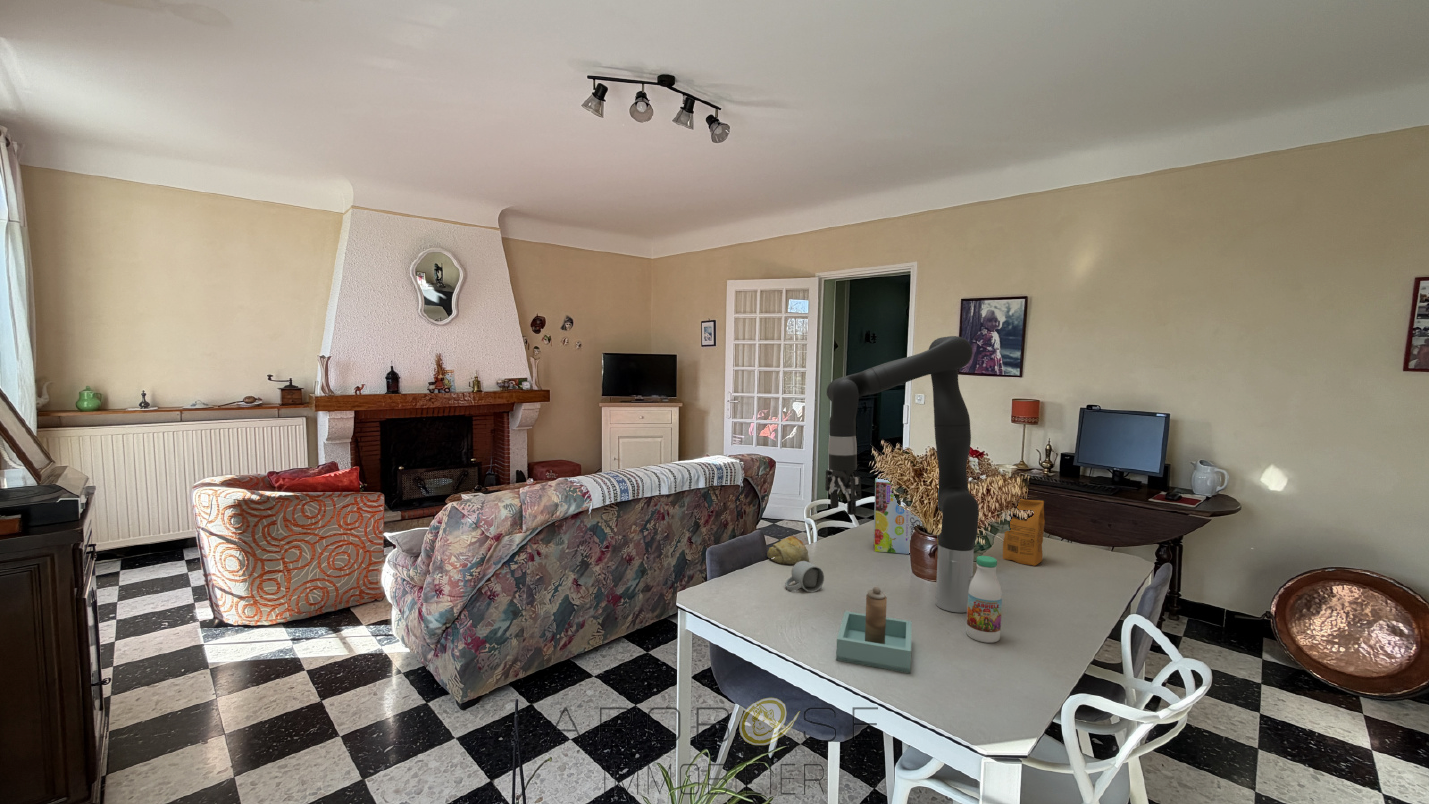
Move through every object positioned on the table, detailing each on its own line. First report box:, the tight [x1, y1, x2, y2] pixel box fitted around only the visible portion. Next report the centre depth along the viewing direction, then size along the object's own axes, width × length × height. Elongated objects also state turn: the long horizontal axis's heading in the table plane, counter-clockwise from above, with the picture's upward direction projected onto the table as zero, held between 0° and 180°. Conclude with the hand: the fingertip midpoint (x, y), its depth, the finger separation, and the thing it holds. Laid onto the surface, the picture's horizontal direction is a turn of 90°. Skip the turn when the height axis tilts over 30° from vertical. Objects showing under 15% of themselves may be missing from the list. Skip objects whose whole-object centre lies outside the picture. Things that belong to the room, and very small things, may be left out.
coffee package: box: [1002, 498, 1046, 566], centre depth 205 cm, size 10×12×22 cm
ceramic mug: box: [784, 561, 825, 593], centre depth 177 cm, size 11×8×8 cm
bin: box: [835, 610, 913, 674], centre depth 139 cm, size 16×16×5 cm
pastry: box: [766, 535, 810, 565], centre depth 202 cm, size 14×12×8 cm
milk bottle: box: [965, 555, 1003, 644], centre depth 147 cm, size 8×8×20 cm
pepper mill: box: [865, 586, 888, 644], centre depth 139 cm, size 5×5×14 cm
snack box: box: [873, 477, 922, 555], centre depth 212 cm, size 22×9×26 cm, turn 77°
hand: (842, 511), depth 161 cm, fingers open, 8 cm apart
